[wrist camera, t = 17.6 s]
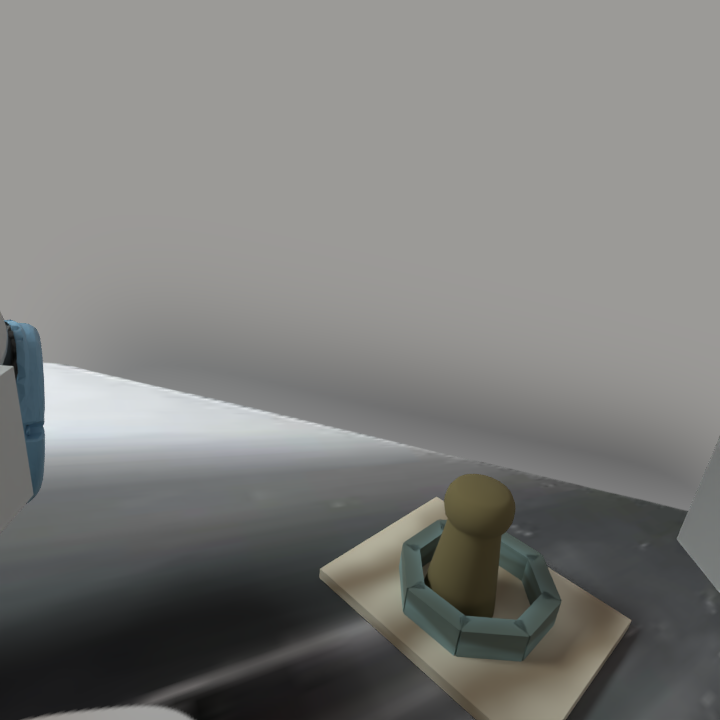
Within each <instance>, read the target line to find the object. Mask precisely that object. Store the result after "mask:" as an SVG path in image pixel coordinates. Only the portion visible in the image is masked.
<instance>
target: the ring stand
mask: <svg viewBox="0 0 720 720" xmlns="http://www.w3.org/2000/svg"><path fill="white" fill-rule="evenodd" d="M447 519H448V518H447V516H446V514H445V507H444V501H442V500H441V499H439V498H437V497H435V498H434V499H432V500H431V501H429V502H427V503H426V504H424V505H423V506H421V507H419V508H418V509H416V510H414V511H413V512H411V513H410V514H408V515H406V516H405V517H403V518H401V519H400V520H398V521H397V522H395V523H393V524H392V525H390V526H389V527H387V528H385V529H384V530H382V531H380V532H379V533H377V534H376V535H374V536H372V537H371V538H369V539H367V540H366V541H364V542H363V543H361V544H359V545H358V546H356V547H355V548H353V549H351V550H350V551H348V552H346V553H345V554H343V555H342V556H340V557H338V558H337V559H335V560H333V561H332V562H330V563H329V564H327V565H325V566H324V567H322V568H321V569H320V576H319V578H320V579H321V580H322V581H323V582H324V583H326V584H327V585H328V586H329V587H330V588H331V589H332V590H333V591H334V592H336V593H337V594H338V595H339V596H340V597H341V598H342V599H343V600H344V601H345V602H347V603H348V604H349V605H350V606H351V607H352V608H353V609H354V610H355V611H356V612H358V613H359V614H360V615H361V616H362V617H363V618H364V619H365V620H366V621H368V622H369V623H370V624H371V625H372V626H373V627H374V628H375V629H376V630H377V631H379V632H380V633H381V634H382V635H383V636H384V637H385V638H386V639H387V640H389V641H390V642H391V643H392V644H393V645H394V646H395V647H396V648H397V649H398V650H400V651H401V652H402V653H403V654H404V655H405V656H406V657H407V658H408V659H410V660H411V661H412V662H413V663H414V664H415V665H416V666H417V667H418V668H419V669H421V670H422V671H423V672H424V673H425V674H426V675H427V676H428V677H429V678H431V679H432V680H433V681H434V682H435V683H436V684H437V685H438V686H439V687H440V688H442V689H443V690H444V691H445V692H446V693H447V694H448V695H449V696H450V697H452V698H453V699H454V700H455V701H456V702H457V703H458V704H459V705H460V706H461V707H463V708H464V709H465V710H466V711H467V712H468V713H469V714H470V715H471V716H473V717H474V718H475V719H476V720H566V719H567V717H568V716H569V714H570V713H571V711H572V710H573V709H574V707H575V706H576V704H577V703H578V701H579V700H580V698H581V697H582V695H583V694H584V693H585V691H586V690H587V688H588V687H589V685H590V684H591V682H592V681H593V679H594V678H595V676H596V675H597V674H598V672H599V671H600V669H601V668H602V666H603V665H604V663H605V662H606V660H607V659H608V658H609V656H610V655H611V653H612V652H613V650H614V649H615V647H616V646H617V644H618V643H619V642H620V640H621V639H622V637H623V636H624V634H625V633H626V631H627V630H628V628H629V625H630V623H631V620H630V619H629V618H627V617H626V616H624V615H622V614H621V613H619V612H618V611H616V610H615V609H613V608H611V607H610V606H608V605H607V604H605V603H603V602H602V601H600V600H599V599H597V598H596V597H594V596H592V595H591V594H589V593H588V592H586V591H584V590H583V589H581V588H580V587H578V586H577V585H575V584H573V583H572V582H570V581H569V580H567V579H566V578H564V577H562V576H561V575H559V574H558V573H556V572H554V571H553V570H551V569H550V568H548V567H547V565H546V562H545V560H544V558H543V555H541V554H540V553H539V552H537V551H535V550H534V549H532V548H531V547H529V546H527V545H526V544H524V543H523V542H521V541H519V540H518V539H516V538H514V537H513V536H511V535H510V534H508V533H506V532H505V533H504V534H502V537H501V548H500V558H499V569H498V579H497V590H496V601H495V609H494V614H493V617H492V618H487V617H475V616H465V615H464V614H462V613H461V612H460V611H458V610H457V609H456V608H455V607H453V606H452V605H451V604H449V603H448V602H447V601H446V600H444V599H443V598H442V597H440V596H439V595H438V594H437V593H435V592H434V591H433V590H431V589H430V588H429V587H427V586H426V585H425V583H424V579H425V576H426V574H427V571H428V568H429V566H430V563H431V561H432V558H433V555H434V553H435V550H436V548H437V545H438V542H439V540H440V537H441V535H442V532H443V529H444V527H445V524H446V522H447Z"/></svg>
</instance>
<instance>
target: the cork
mask: <svg viewBox="0 0 720 720" xmlns="http://www.w3.org/2000/svg"><path fill="white" fill-rule="evenodd" d="M444 507H445V514H446V516H447V518H448V519H447V522H446V524H445V527H444V529H443V532H442V535H441V537H440V540H439V542H438V545H437V548H436V550H435V553H434V555H433V558H432V561H431V563H430V566H429V568H428V571H427V574H426V576H425V579H424V583H425V585H426V586H427V587H429V588H430V589H431V590H433V591H434V592H435V593H437V594H438V595H439V596H440V597H442V598H443V599H444V600H446V601H447V602H448V603H449V604H451V605H452V606H453V607H455V608H456V609H457V610H458V611H460V612H461V613H462V614H464V615H465V616H475V617H487V618H492V617H493V614H494V609H495V601H496V590H497V579H498V569H499V558H500V548H501V537H502V534H504V533H505V532H506V531H507V530H508V529H509V527H510V526H511V524H512V522H513V519H514V514H515V502H514V499H513V496H512V494H511V492H510V490H509V489H508V488H507V487H506V486H505V485H504V484H502V483H501V482H500V481H498V480H495V479H493V478H491V477H488V476H485V475H479V474H466V475H463V476H460V477H458V478H457V479H456V480H454V481H453V482H452V483H451V484H450V486H449V487H448V489H447V492H446V494H445V499H444Z"/></svg>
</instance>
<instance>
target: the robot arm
mask: <svg viewBox="0 0 720 720" xmlns="http://www.w3.org/2000/svg"><path fill="white" fill-rule="evenodd" d="M44 411H45V397H44V374H43V360H42V349H41V342H40V336H39V333H38V331H37V329H36V328H35V327H33V326H31V325H29V324H26V323H17V322H15V321H12V320H4V319H3V317H2V315H1V313H0V534H1V532H2V531H3V530H4V529H5V528H6V527H7V525H8V524H9V523H10V522H11V521H12V520H13V518H14V517H15V516H16V515H17V514H18V512H19V511H20V510H21V509H22V508H23V507H24V505H25V504H27V503H28V502H30V501H31V500H32V499H33V498H34V497H35V496H36V495H37V493H38V492H39V490H40V488H41V484H42V480H43V473H44V459H45V434H44V428H43V425H44ZM677 540H678V541H679V543H680V544H681V545H682V546H683V548H684V549H685V550H686V551H687V553H688V554H689V555H690V556H691V558H692V559H693V560H694V561H695V563H696V564H697V565H698V566H699V568H700V569H701V570H702V571H703V573H704V574H705V575H706V576H707V578H708V579H709V580H710V581H711V583H712V584H713V585H714V586H715V588H716V589H717V590H718V591H719V593H720V437H719V439H718V442H717V444H716V447H715V449H714V451H713V454H712V456H711V458H710V461H709V463H708V466H707V468H706V470H705V473H704V475H703V478H702V480H701V482H700V485H699V487H698V490H697V492H696V494H695V497H694V499H693V501H692V504H691V506H690V509H689V511H688V513H687V516H686V518H685V520H684V523H683V525H682V528H681V530H680V532H679V535H678V537H677Z"/></svg>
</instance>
